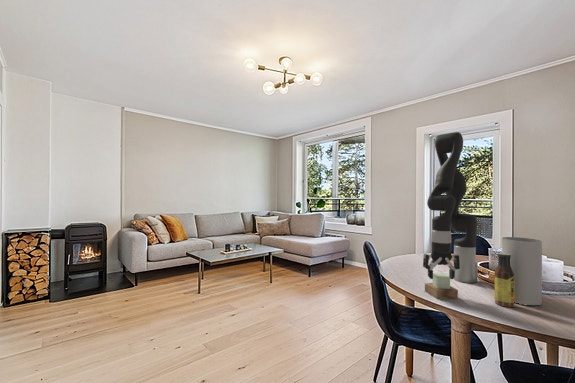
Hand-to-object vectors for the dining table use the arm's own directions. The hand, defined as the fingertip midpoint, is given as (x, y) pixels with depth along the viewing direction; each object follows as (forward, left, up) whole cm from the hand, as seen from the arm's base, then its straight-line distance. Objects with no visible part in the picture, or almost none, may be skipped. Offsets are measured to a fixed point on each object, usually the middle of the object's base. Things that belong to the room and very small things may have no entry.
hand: (441, 278), depth 120 cm
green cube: (0, 0, -3) cm, 3 cm away
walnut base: (0, 0, -7) cm, 7 cm away
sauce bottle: (-20, +9, -7) cm, 23 cm away
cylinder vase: (-30, +4, -7) cm, 31 cm away
